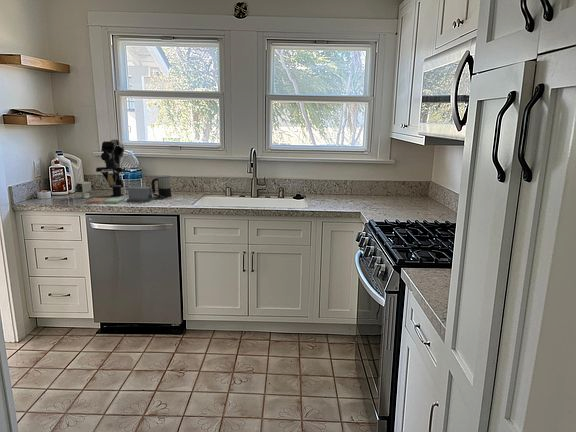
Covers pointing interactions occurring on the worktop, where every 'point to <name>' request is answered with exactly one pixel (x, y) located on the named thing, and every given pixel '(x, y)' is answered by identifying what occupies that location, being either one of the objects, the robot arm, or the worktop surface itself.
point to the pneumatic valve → (84, 188)
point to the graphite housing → (140, 194)
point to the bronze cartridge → (111, 179)
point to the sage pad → (114, 200)
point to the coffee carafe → (162, 186)
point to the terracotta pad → (96, 200)
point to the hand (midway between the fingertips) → (111, 181)
